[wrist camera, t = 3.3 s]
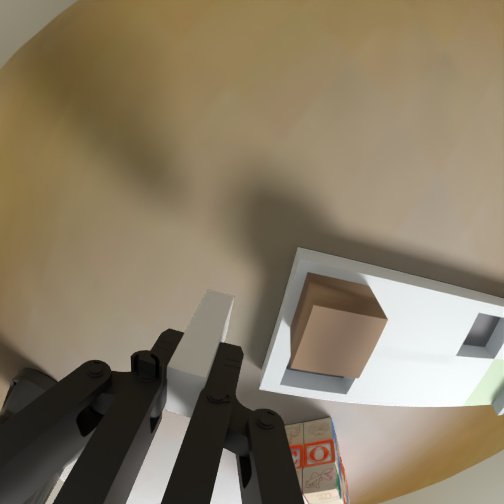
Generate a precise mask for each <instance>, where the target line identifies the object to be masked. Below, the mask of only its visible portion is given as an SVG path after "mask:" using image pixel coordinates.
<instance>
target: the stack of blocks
mask: <svg viewBox="0 0 504 504" xmlns="http://www.w3.org/2000/svg"><path fill="white" fill-rule="evenodd" d="M285 430H286V434H287V438H288V442H289V446H290V450H291V453H292V457H293V461H294V465H295V469H296V473H297V476H298V480H299V484H300V488H301V491H302V495H303V499H304V503H305V504H350V500H349V493H348V485H347V479H346V474H345V469H344V466H343V464H342V460H341V457H340V454H339V445H338V441H337V437H336V433H335V430H334V426H333V422H332V418H331V417H329V418H324V419H319V420H314V421H309V422H304V423H297V424H291V425H285Z"/></svg>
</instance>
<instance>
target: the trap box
mask: <svg viewBox="0 0 504 504" xmlns="http://www.w3.org/2000/svg"><path fill="white" fill-rule="evenodd" d="M307 272H310V273H315V274H319V275H323V276H328V277H332V278H337V279H341V280H346V281H350V282H355V283H359V284H363V285H368V286H370V288H371V290H372V292H373V293H374V295H375V297H376V299H377V300H378V302H379V304H380V306H381V308H382V309H383V311H384V313H385V315H386V317H387V318H388V321H387V323H386V325H385V328H384V330H383V332H382V334H381V336H380V338H379V340H378V342H377V344H376V346H375V348H374V350H373V352H372V354H371V356H370V358H369V360H368V362H367V364H366V366H365V368H364V370H363V372H362V373H361V375H360V377H359V378H351V377H344V376H336V375H329V374H323V373H316V372H310V371H304V370H298V369H293V368H291V353H290V326H291V323H292V320H293V317H294V314H295V311H296V308H297V305H298V301H299V298H300V295H301V292H302V289H303V285H304V282H305V279H306V275H307ZM259 389H260V390H266V391H271V392H276V393H282V394H288V395H294V396H301V397H307V398H314V399H322V400H330V401H339V402H348V403H359V404H371V405H387V406H412V407H450V406H474V405H488V404H491V405H492V406H493V408H494V410H495V411H496V413H497V415H502V414H503V413H504V298H500V297H497V296H493V295H489V294H485V293H482V292H478V291H474V290H470V289H466V288H462V287H459V286H455V285H451V284H447V283H443V282H439V281H435V280H431V279H427V278H423V277H419V276H415V275H411V274H407V273H403V272H399V271H395V270H391V269H387V268H383V267H379V266H375V265H371V264H367V263H363V262H359V261H355V260H351V259H346V258H342V257H338V256H334V255H330V254H326V253H321V252H317V251H313V250H309V249H305V248H300V247H298V248H297V251H296V255H295V259H294V262H293V266H292V270H291V273H290V277H289V280H288V284H287V287H286V291H285V294H284V298H283V301H282V305H281V308H280V311H279V315H278V318H277V321H276V325H275V328H274V331H273V335H272V338H271V341H270V345H269V348H268V351H267V354H266V357H265V361H264V364H263V367H262V370H261V378H260V387H259Z"/></svg>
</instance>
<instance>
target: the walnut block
mask: <svg viewBox="0 0 504 504" xmlns="http://www.w3.org/2000/svg"><path fill="white" fill-rule="evenodd" d="M387 321H388V318H387V317H386V315H385V313H384V311H383V309H382V308H381V306H380V304H379V302H378V300H377V299H376V297H375V295H374V293H373V292H372V290H371V288H370V286H368V285H363V284H359V283H355V282H350V281H346V280H341V279H337V278H332V277H328V276H323V275H319V274H315V273H310V272H307V275H306V279H305V282H304V285H303V289H302V292H301V295H300V298H299V301H298V305H297V308H296V311H295V314H294V317H293V320H292V323H291V326H290V353H291V368H293V369H298V370H304V371H310V372H316V373H323V374H329V375H336V376H344V377H351V378H359V377H360V375H361V373H362V372H363V370H364V368H365V366H366V364H367V362H368V360H369V358H370V356H371V354H372V352H373V350H374V348H375V346H376V344H377V342H378V340H379V338H380V336H381V334H382V332H383V330H384V328H385V325H386V323H387Z"/></svg>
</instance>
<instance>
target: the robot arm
mask: <svg viewBox="0 0 504 504" xmlns="http://www.w3.org/2000/svg"><path fill="white" fill-rule="evenodd" d="M233 300H234V296H233V295H229V294H224V293H220V292H216V291H212V290H207V292H206V294H205V295H204V297H203V299H202V301H201V303H200V305H199V307H198V309H197V310H196V312H195V314H194V316H193V318H192V320H191V322H190V324H189V325H188V327H187V329H186V331H185V333H183V332H180V331H176V330H173V329H170V328H169V329H167V330H166V331H164V332H162V333H161V335H160V336H159V338H158V339H157V341H156V343H155V344H154V346H153V347H152V349H151V351H148V350H143V351H138V352H135V353H134V354H133V355H131V372H117V371H111V369H110V366H109V365H108V364H106V363H105V362H103V361H100V360H90V361H87V362H85V363H84V364H82V365H81V366H80V367H78V368H77V369H75V370H74V371H73V372H71V373H70V374H69V375H67V376H66V377H65V378H63V379H62V380H61V381H59V382H58V383H57V382H55V381H54V380H52V379H51V378H49V377H48V376H46V375H44V374H42V373H40V372H38V371H35V370H32V369H23V370H21V371H20V372H19V373H18V374H17V375H16V376H15V378H14V379H13V380H12V382H11V386H10V388H9V390H8V393H7V395H6V398H5V401H4V404H3V407H2V410H1V412H0V504H45V503H46V501H47V499H48V498H49V496H50V493H51V492H52V490H53V488H54V486H55V485H56V483H57V481H58V479H59V477H60V476H61V474H62V472H63V470H64V469H65V467H66V466H67V465H69V464H70V463H71V462H73V461H74V460H75V459H77V458H78V457H79V458H78V460H77V461H76V463H75V465H74V467H73V468H72V470H71V472H70V474H69V475H68V477H67V479H66V481H65V482H64V484H63V486H62V488H61V490H60V491H59V493H58V495H57V497H56V499H55V500H54V503H53V504H126V502H127V499H128V497H129V494H130V492H131V490H132V487H133V485H134V482H135V480H136V478H137V475H138V473H139V471H140V468H141V466H142V464H143V461H144V459H145V456H146V454H147V452H148V449H149V447H150V445H151V442H152V440H153V438H154V435H155V433H156V431H157V429H158V426H159V424H160V422H161V419H162V410H163V408H164V406H165V410H167V411H171V412H174V413H177V414H180V415H184V416H187V417H191V420H190V422H189V425H188V428H187V431H186V434H185V437H184V439H183V442H182V445H181V448H180V451H179V454H178V456H177V459H176V462H175V465H174V468H173V471H172V473H171V476H170V479H169V482H168V485H167V488H166V491H165V493H164V496H163V499H162V502H161V504H210V501H211V497H212V493H213V489H214V484H215V480H216V476H217V472H218V468H219V463H220V459H221V455H222V450H223V448H225V449H227V450H229V451H231V452H233V453H235V454H236V459H237V467H238V475H239V483H240V491H241V498H242V504H305V503H304V499H303V495H302V491H301V488H300V484H299V480H298V476H297V473H296V469H295V465H294V461H293V457H292V453H291V450H290V446H289V442H288V438H287V434H286V430H285V426H284V423H283V420H282V418H281V416H280V415H278V414H277V413H276V412H274V411H272V410H269V409H257V410H255V411H252V410H250V409H248V408H246V407H244V406H243V405H242V404H241V403H239V401H238V400H237V398H236V395H235V394H236V387H237V382H238V378H239V373H240V369H241V364H242V360H243V355H244V354H243V351H242V349H241V347H240V346H236V345H231V344H227V343H224V341H225V338H226V334H227V329H228V324H229V319H230V315H231V310H232V305H233ZM165 404H166V405H165Z"/></svg>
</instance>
